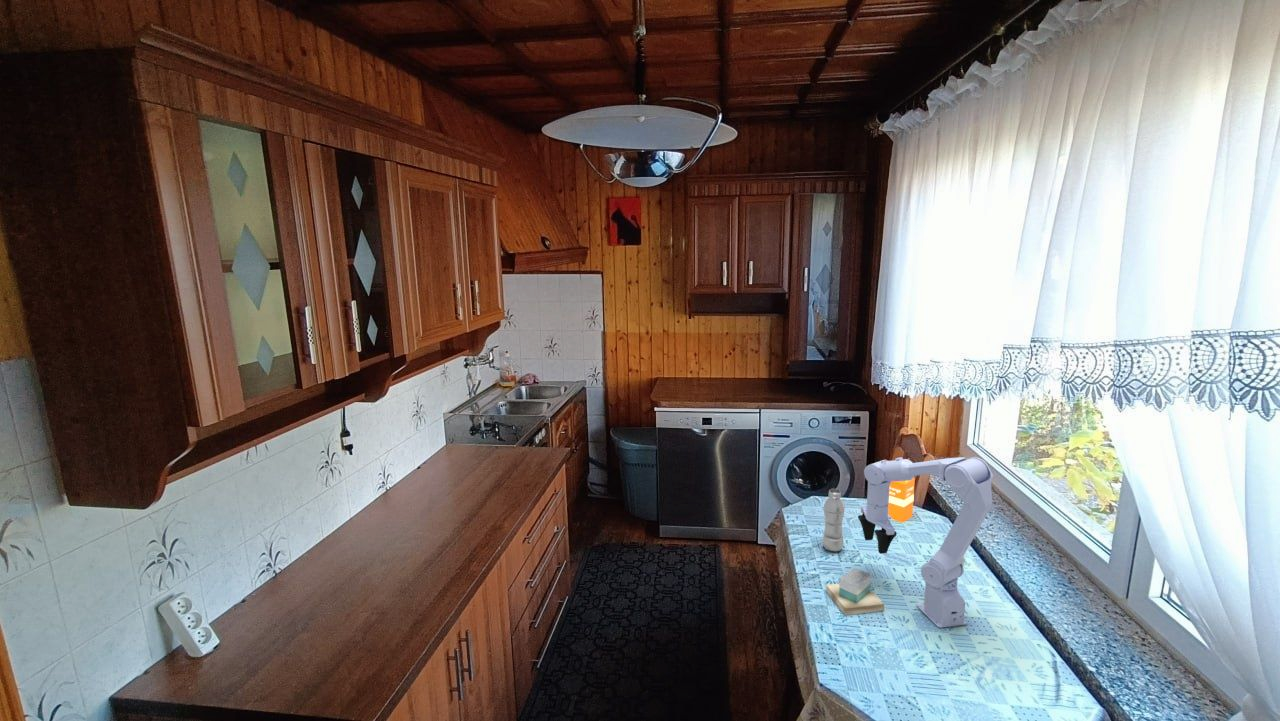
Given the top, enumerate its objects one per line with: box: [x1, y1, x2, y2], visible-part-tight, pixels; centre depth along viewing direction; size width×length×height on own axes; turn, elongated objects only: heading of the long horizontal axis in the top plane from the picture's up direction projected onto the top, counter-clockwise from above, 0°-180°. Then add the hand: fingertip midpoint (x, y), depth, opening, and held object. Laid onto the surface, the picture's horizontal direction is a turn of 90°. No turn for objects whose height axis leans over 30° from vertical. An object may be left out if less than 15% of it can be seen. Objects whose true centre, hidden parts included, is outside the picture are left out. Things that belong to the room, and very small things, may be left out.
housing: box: [839, 567, 872, 604], centre depth 153 cm, size 8×5×5 cm, turn 132°
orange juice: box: [888, 477, 916, 524], centre depth 200 cm, size 8×9×20 cm
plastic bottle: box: [822, 488, 846, 553], centre depth 179 cm, size 6×7×20 cm
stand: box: [825, 582, 885, 616], centre depth 153 cm, size 11×11×2 cm
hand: (875, 546), depth 162 cm, fingers open, 7 cm apart
